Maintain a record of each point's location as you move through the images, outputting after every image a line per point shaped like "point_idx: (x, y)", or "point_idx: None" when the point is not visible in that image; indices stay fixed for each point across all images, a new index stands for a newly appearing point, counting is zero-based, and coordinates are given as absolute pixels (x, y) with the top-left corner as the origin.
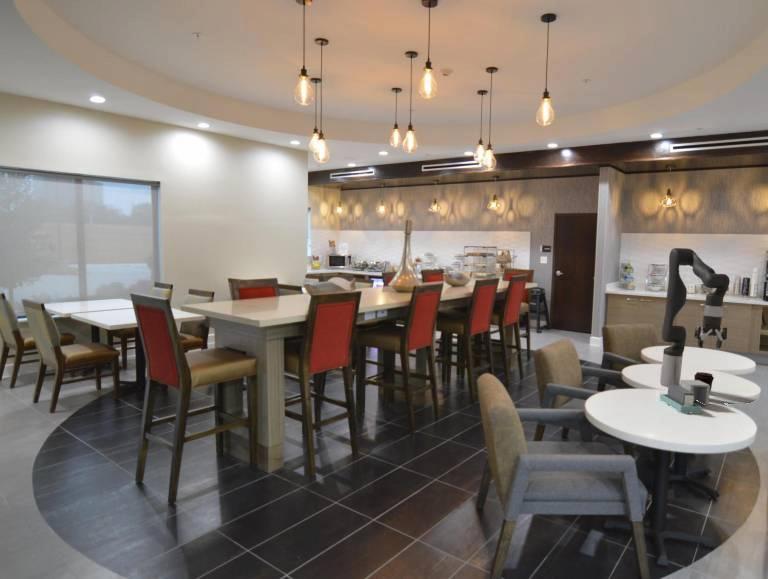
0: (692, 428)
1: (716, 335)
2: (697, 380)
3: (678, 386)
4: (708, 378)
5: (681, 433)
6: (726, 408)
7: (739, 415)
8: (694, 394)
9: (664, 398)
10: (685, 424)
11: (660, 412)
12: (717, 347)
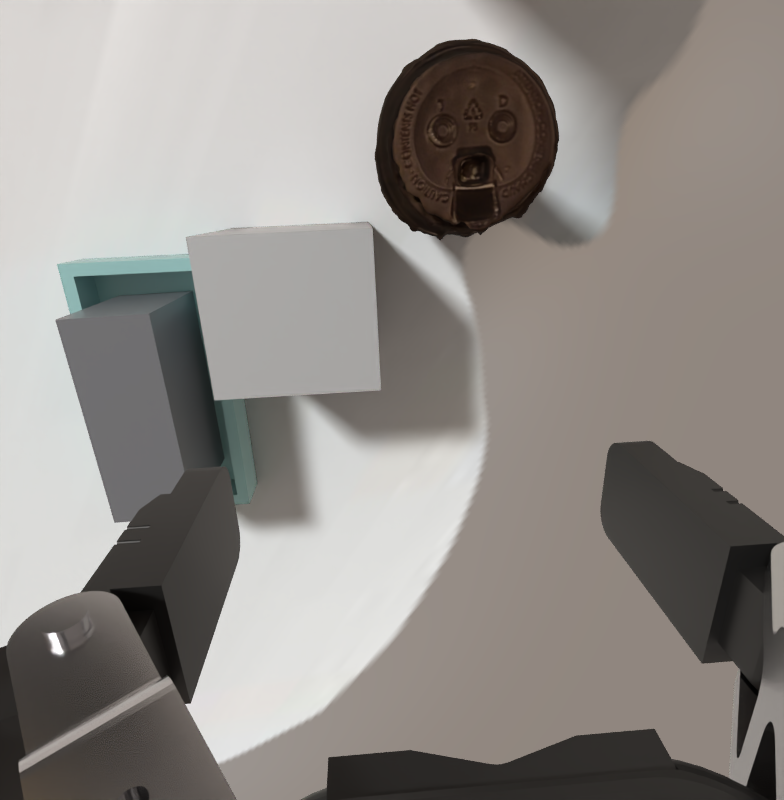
0: None
1: (768, 789)
2: (350, 238)
3: (132, 357)
4: (461, 234)
5: None
6: (471, 370)
7: (466, 478)
8: None
9: None
10: None
11: (19, 503)
12: (608, 489)
